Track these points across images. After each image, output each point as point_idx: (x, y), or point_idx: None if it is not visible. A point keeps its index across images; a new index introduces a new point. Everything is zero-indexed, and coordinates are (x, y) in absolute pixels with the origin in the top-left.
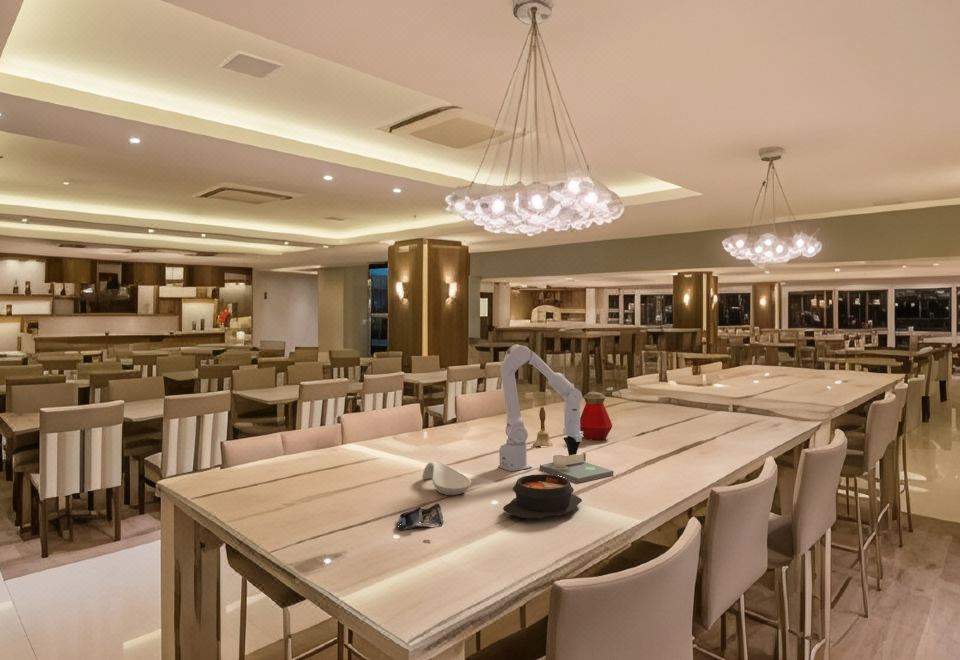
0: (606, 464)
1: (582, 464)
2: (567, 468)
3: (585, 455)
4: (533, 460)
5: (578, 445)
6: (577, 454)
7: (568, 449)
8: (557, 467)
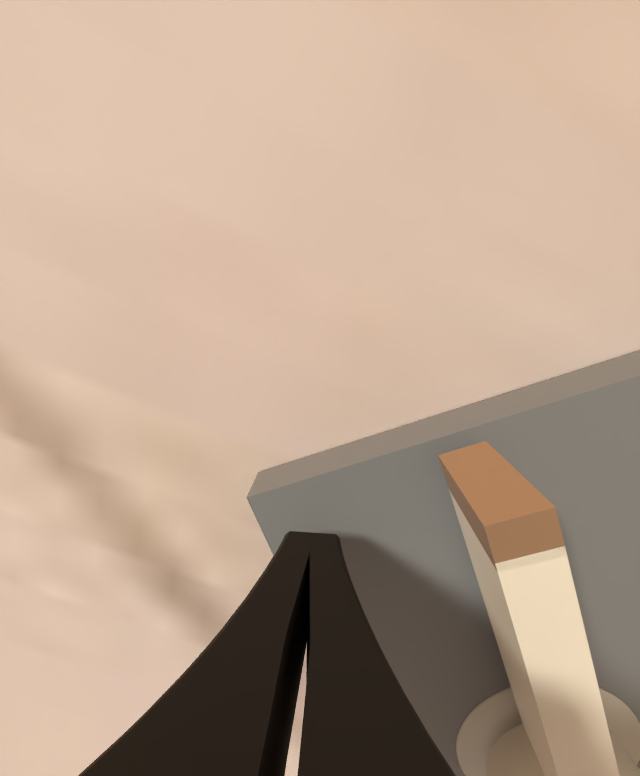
0: (447, 81)
1: None
2: (631, 705)
3: (531, 486)
4: None
5: (436, 755)
6: (562, 663)
7: (287, 740)
8: None
